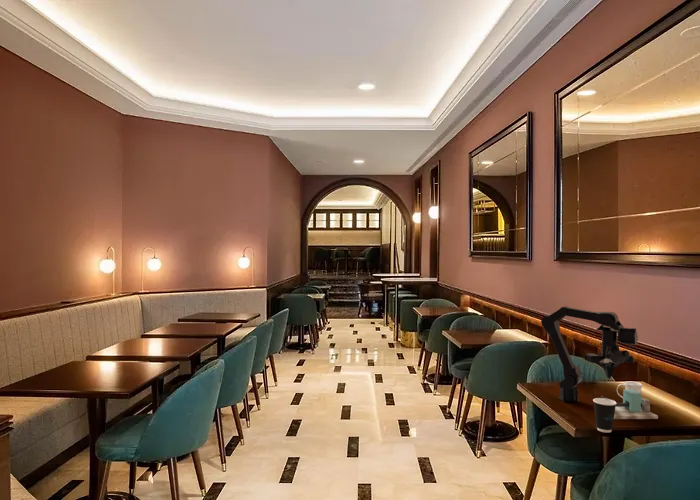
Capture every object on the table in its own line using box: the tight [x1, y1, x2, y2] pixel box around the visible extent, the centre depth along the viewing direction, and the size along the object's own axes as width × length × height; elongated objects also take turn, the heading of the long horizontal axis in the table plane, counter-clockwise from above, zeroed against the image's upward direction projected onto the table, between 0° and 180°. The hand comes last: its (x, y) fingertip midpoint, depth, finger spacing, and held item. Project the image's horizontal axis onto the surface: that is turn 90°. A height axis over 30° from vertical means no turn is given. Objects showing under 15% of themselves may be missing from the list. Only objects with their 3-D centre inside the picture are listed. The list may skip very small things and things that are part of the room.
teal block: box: [622, 389, 642, 412], centre depth 209 cm, size 4×6×7 cm
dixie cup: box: [592, 397, 618, 433], centre depth 189 cm, size 8×8×11 cm
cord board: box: [600, 395, 659, 420], centre depth 209 cm, size 18×14×6 cm
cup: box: [616, 380, 643, 399], centre depth 226 cm, size 7×10×8 cm
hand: (608, 378), depth 214 cm, fingers closed
